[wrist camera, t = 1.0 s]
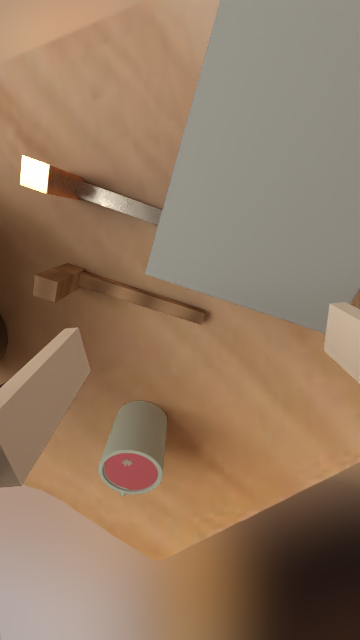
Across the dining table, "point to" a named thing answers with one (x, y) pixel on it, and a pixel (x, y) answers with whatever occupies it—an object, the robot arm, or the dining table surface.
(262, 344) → the dining table surface
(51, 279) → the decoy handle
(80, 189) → the wood-tipped metal rod
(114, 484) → the mug
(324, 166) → the shelf cubby
